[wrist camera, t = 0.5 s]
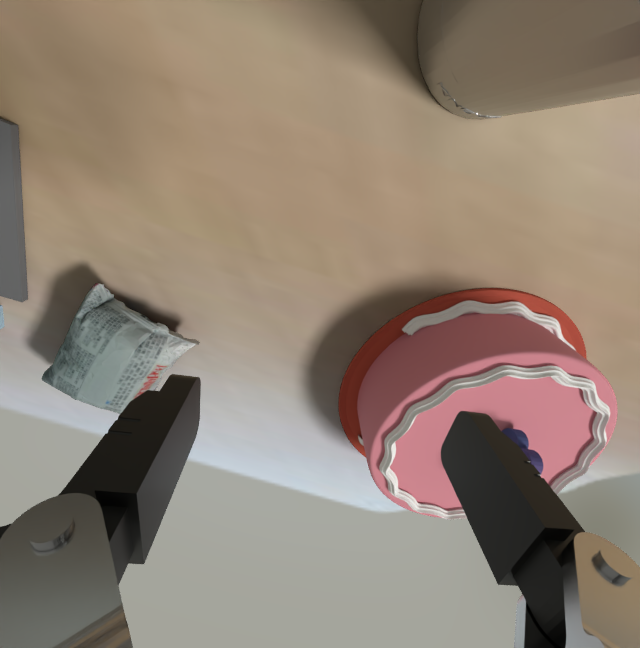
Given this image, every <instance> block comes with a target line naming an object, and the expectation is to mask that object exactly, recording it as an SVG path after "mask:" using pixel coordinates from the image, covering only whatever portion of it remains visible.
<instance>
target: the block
mask: <svg viewBox="0 0 640 648" xmlns="http://www.w3.org/2000/svg"><path fill="white" fill-rule="evenodd" d="M3 327H4V318H3V308H2V305H0V329H1V328H3Z"/></svg>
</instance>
